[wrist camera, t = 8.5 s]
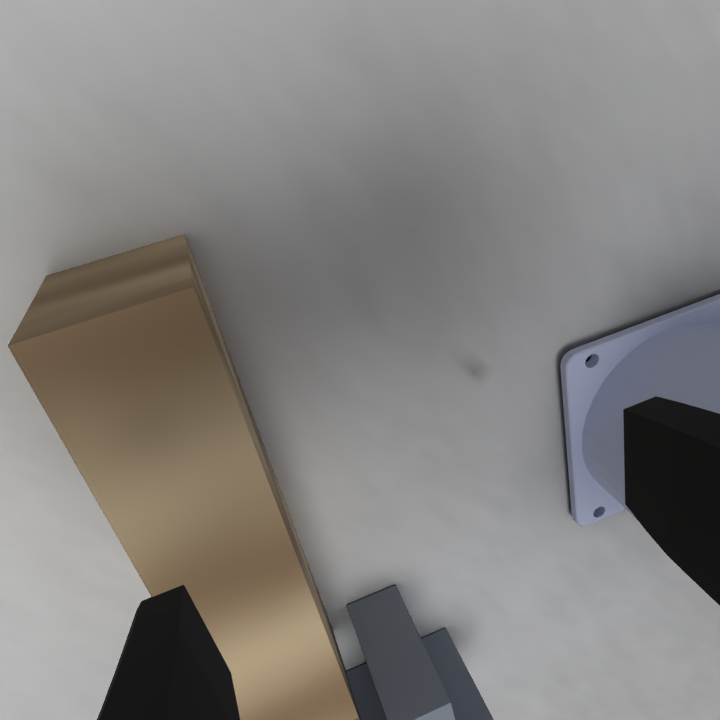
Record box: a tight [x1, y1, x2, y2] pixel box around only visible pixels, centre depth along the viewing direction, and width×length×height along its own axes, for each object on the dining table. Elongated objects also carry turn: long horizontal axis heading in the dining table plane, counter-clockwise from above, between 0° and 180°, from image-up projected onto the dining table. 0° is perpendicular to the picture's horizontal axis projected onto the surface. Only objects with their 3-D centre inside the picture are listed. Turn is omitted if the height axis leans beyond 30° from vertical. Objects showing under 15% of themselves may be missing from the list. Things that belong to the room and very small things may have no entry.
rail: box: [8, 235, 361, 720], centre depth 17 cm, size 16×4×4 cm, turn 13°
